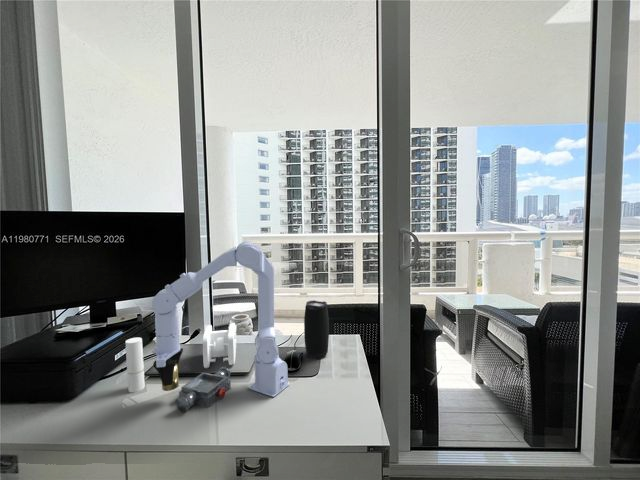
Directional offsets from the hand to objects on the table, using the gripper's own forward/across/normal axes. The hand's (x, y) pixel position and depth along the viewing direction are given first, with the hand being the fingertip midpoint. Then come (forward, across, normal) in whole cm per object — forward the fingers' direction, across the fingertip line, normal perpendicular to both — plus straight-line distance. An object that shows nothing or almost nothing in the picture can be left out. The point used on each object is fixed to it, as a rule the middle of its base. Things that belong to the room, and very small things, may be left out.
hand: (170, 380), depth 89 cm
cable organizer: (+6, -24, +11) cm, 27 cm away
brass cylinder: (+2, 0, 0) cm, 2 cm away
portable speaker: (+6, -21, +45) cm, 50 cm away
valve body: (+6, -2, +9) cm, 11 cm away
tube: (+6, -9, -12) cm, 16 cm away
